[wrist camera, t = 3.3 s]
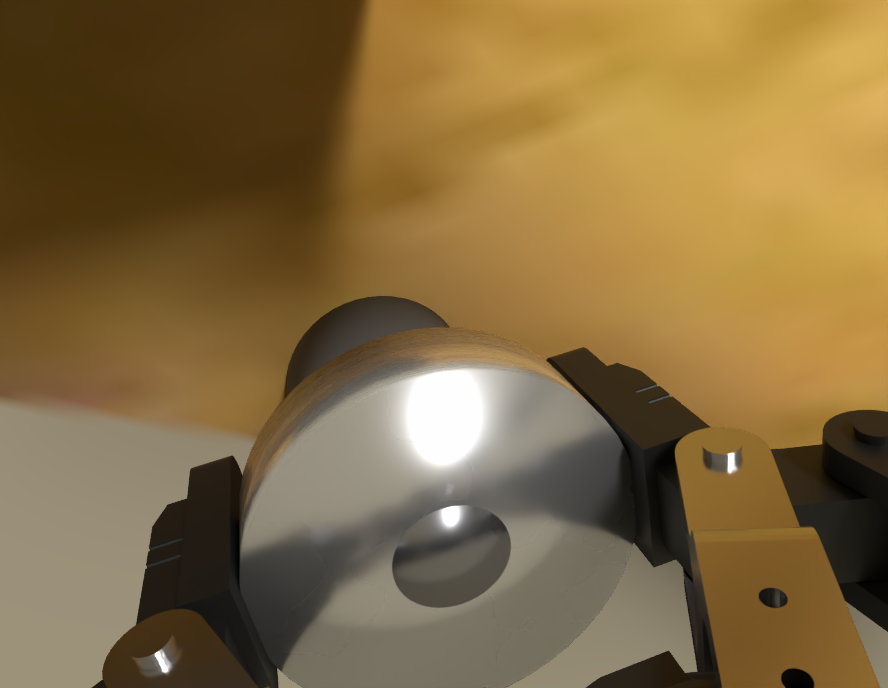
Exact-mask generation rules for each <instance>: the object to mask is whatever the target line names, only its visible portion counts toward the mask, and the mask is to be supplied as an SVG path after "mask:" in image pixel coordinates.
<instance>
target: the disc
mask: <svg viewBox="0 0 888 688" xmlns="http://www.w3.org/2000/svg"><path fill="white" fill-rule="evenodd" d="M636 528H637V525H636V515H635V505H634V495H633V485H632V476H631V466H630V459H629V456H628V454H627V452H626V450H625V448H624V446H623V444H622V443H621V441H620V439H619V437H618V435H617V434H616V433H615V431H614V430H613V429H612V428H611V426H610V425H609V424H608V423H607V421H606V420H605V419H604V418H603V417H602V416H601V415H600V414H599V413H598V412H597V411H596V410H595V409H594V408H593V407H592V406H591V405H590V403H589V402H588V401H587V400H586V399H585V398H584V397H583V396H582V395H581V394H580V393H579V392H578V391H577V390H576V389H575V388H574V387H573V386H572V385H571V384H570V383H569V382H568V381H567V380H566V379H565V378H564V377H563V376H562V375H561V374H560V373H559V372H558V371H557V370H556V369H555V368H554V367H553V366H551V365H550V364H549V363H548V362H547V361H546V360H545V359H544V358H542V357H540V356H539V355H537V354H536V353H534V352H533V351H531V350H530V349H528V348H527V347H525V346H523V345H520V344H518V343H516V342H514V341H512V340H510V339H507V338H505V337H501V336H498V335H495V334H491V333H488V332H485V331H478V330H472V329H465V328H446V327H434V328H424V329H415V330H408V331H404V332H400V333H395V334H391V335H386V336H383V337H380V338H378V339H375V340H372V341H369V342H367V343H364V344H361V345H359V346H357V347H355V348H353V349H351V350H349V351H347V352H345V353H343V354H341V355H339V356H337V357H335V358H334V359H332V360H331V361H329V362H328V363H326V364H325V365H323V366H322V367H320V368H319V369H317V370H316V371H314V372H313V373H312V374H310V375H309V376H308V377H307V378H306V379H305V380H303V381H302V382H301V383H300V384H299V385H298V386H296V387H295V388H294V389H293V390H292V391H291V392H290V393H289V395H288V396H287V397H286V398H285V399H284V400H283V401H282V402H281V403H280V404H279V405H278V407H277V408H276V409H275V411H274V412H273V413H272V415H271V416H270V418H269V419H268V421H267V422H266V423H265V425H264V426H263V428H262V429H261V431H260V433H259V435H258V437H257V439H256V441H255V443H254V445H253V447H252V449H251V452H250V454H249V457H248V460H247V463H246V466H245V469H244V472H243V477H242V483H241V488H240V494H239V569H240V591H241V595H242V597H243V599H244V602H245V604H246V606H247V609H248V611H249V613H250V616H251V618H252V620H253V623H254V625H255V627H256V630H257V632H258V634H259V637H260V639H261V641H262V644H263V646H264V648H265V651H266V653H267V655H268V658H269V659H270V660H271V662H272V663H273V664H274V665H275V666H276V667H277V668H278V669H279V670H280V671H282V672H283V673H284V674H285V675H286V676H287V677H288V678H289V679H291V680H292V681H294V682H295V683H297V684H298V685H300V686H301V687H303V688H505V687H508V686H510V685H512V684H513V683H515V682H517V681H519V680H521V679H523V678H524V677H526V676H528V675H530V674H531V673H533V672H534V671H536V670H537V669H539V668H540V667H542V666H543V665H545V664H546V663H548V662H549V661H551V660H552V659H553V658H554V657H556V656H557V655H558V654H559V653H561V652H562V651H563V650H564V649H565V648H567V647H568V646H569V645H570V644H571V643H572V642H573V641H574V640H575V639H576V638H577V637H578V636H579V635H580V634H581V633H582V632H583V631H584V630H585V629H586V628H587V626H588V625H589V624H590V623H591V622H592V621H593V620H594V618H595V617H596V616H597V615H598V614H599V613H600V611H601V610H602V608H603V607H604V605H605V604H606V602H607V601H608V599H609V598H610V596H611V595H612V593H613V592H614V590H615V588H616V586H617V584H618V582H619V580H620V578H621V577H622V575H623V572H624V570H625V567H626V565H627V562H628V559H629V557H630V554H631V551H632V546H633V543H634V539H635V535H636Z"/></svg>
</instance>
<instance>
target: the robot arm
mask: <svg viewBox="0 0 888 688" xmlns="http://www.w3.org/2000/svg"><path fill="white" fill-rule="evenodd" d="M546 361H547V362H548V363H549V364H550V365H551V366H553V367H554V368H555V369H556V370H557V371H558V372H559V373H560V374H561V375H562V376H563V377H564V378H565V379H566V380H567V381H568V382H569V383H570V384H571V385H572V386H573V387H574V388H575V389H576V390H577V391H578V392H579V393H580V394H581V395H582V396H583V397H584V398H585V399H586V400H587V401H588V402H589V403H590V405H591V406H592V407H593V408H594V409H595V410H596V411H597V412H598V413H599V414H600V415H601V416H602V417H603V418H604V419H605V420H606V421H607V423H608V424H609V425H610V426H611V428H612V429H613V430H614V431H615V433H616V434H617V435H618V437H619V439H620V441H621V443H622V444H623V446H624V448H625V450H626V452H627V454H628V456H629V459H630V466H631V476H632V485H633V495H634V505H635V515H636V525H637V528H636V535H635V539H634V543H635V544H636V546H638V548H639V549H640V551H641V552H642V553H643V554H644V556H645V557H646V558H647V559H648V561H649V562H650V563H651V564H652V565H653V567H656V566H659V565H662V564H664V563H667V562H670V561H672V560H675V559H676V560H677V561H678V562H679V563H680V564H681V566H682V567H683V576H684V588H685V595H686V602H687V607H688V614H689V620H690V626H691V633H692V640H693V646H694V653H695V659H696V665H697V672H691V673H684V671H683V670H682V668H681V667H680V666H679V664H678V663H677V661H676V660H675V659H674V657H673V656H672V655H671V653H670V652H669V651H667V652H664V653H662V654H659V655H656V656H654V657H651V658H649V659H646V660H644V661H641V662H638V663H636V664H633V665H631V666H628V667H626V668H623V669H621V670H618V671H615V672H613V673H610V674H608V675H605V676H603V677H600V678H599V679H597V680H596V681H595V682H593V683H592V684H590V685H589V686H588V687H586V688H880V686H879V683H878V681H877V678H876V676H875V674H874V671H873V668H872V666H871V664H870V661H869V659H868V656H867V654H866V651H865V649H864V646H863V644H862V641H861V639H860V637H859V634H858V632H857V629H856V627H855V624H854V622H853V619H852V617H851V614H850V612H849V609H848V607H847V604H846V602H848V603H849V604H850V605H852V606H853V607H854V608H856V609H857V610H859V611H860V612H861V613H863V614H864V615H865V616H867V617H868V618H869V619H871V620H872V621H874V622H875V623H876V624H878V625H879V626H880V627H882V628H883V629H885V630H886V631H887V632H888V412H885V411H877V410H856V411H849V412H845V413H842V414H839V415H836V416H834V417H833V418H831V419H830V420H829V421H828V422H826V424H825V425H824V428H823V439H822V444H821V445H812V446H803V447H794V448H785V449H770V448H769V446H768V444H767V443H766V442H765V441H764V440H763V439H761V438H760V437H758V436H757V435H755V434H753V433H750V432H748V431H745V430H741V429H737V428H731V427H710V426H708V425H707V424H706V423H705V422H703V421H702V420H701V419H700V418H698V417H697V416H696V415H695V414H694V413H692V412H691V411H690V410H689V409H687V408H686V407H685V406H684V405H682V404H681V403H680V402H679V401H677V400H676V399H675V398H674V397H670V395H669V393H668V392H666V391H665V390H664V389H663V388H661V387H660V386H658V387H657V384H656V383H655V382H654V381H653V380H651V379H650V378H649V377H648V376H647V375H645V374H644V373H643V372H642V371H640V370H637V369H634V368H631V367H628V366H625V365H622V364H619V363H616V364H613V365H609V366H606V365H605V364H604V363H603V362H601V361H600V360H599V359H598V358H597V357H596V356H595V355H593V354H592V353H591V352H590V351H589V350H588V349H586V348H584V347H583V348H579V349H576V350H573V351H570V352H566V353H563V354H560V355H557V356H553V357H550V358H548V359H547V360H546ZM242 477H243V476H242V473H241V471H240V468H239V466H238V464H237V461H236V460H235V458H234V457H233V456H229V457H226V458H223V459H219V460H216V461H213V462H210V463H207V464H203V465H200V466H197V467H194V468H191V470H190V477H189V486H188V496H187V499H184V500H181V501H178V502H175V503H172V504H169V505H167V506H166V508H165V509H164V511H163V512H162V514H161V515H160V517H159V518H158V519H157V521H156V522H155V524H154V525H153V527H152V533H151V539H150V545H149V549H150V551H149V552H148V556H147V563H146V565H147V569H145V574H144V580H143V586H142V592H141V598H140V604H139V610H138V616H137V623H136V625H135V626H134V627H133V628H131V629H130V630H129V631H128V632H126V633H125V634H124V635H123V636H122V637H121V638H120V639H119V640H118V641H117V642H116V644H115V645H114V646H113V647H112V649H111V650H110V652H109V654H108V655H107V657H106V660H105V662H104V665H103V671H102V675H103V680H101V681H100V682H99V683H98V684H96V685H95V686H94V687H92V688H278V675H277V667H276V666H275V665H274V664H273V663H272V662H271V660H270V659H269V658H268V655H267V653H266V651H265V648H264V646H263V644H262V641H261V639H260V637H259V634H258V632H257V630H256V627H255V625H254V623H253V620H252V618H251V616H250V613H249V611H248V609H247V606H246V604H245V602H244V599H243V597H242V595H241V591H240V569H239V494H240V488H241V483H242ZM845 601H846V602H845Z"/></svg>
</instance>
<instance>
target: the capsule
mask: <svg viewBox="0 0 888 688" xmlns="http://www.w3.org/2000/svg"><path fill="white" fill-rule="evenodd" d="M434 327H446V328H450V327H449V326H448V325H447V323H446V322H445V321H444V320H443V319H442V318H441V317H440V316H438V315H437V314H436V313H435V312H433V311H432V310H430V309H429V308H427V307H425V306H423V305H421V304H419V303H417V302H414V301H411V300H408V299H404V298H398V297H391V296H376V297H367V298H362V299H358V300H354V301H351V302H349V303H346V304H343V305H341V306H339V307H337V308H335V309H333V310H332V311H330V312H329V313H327V314H326V315H324V316H323V317H321V318H320V319H319V320H318V321H317V322H316V323H314V324H313V325H312V326H311V327H310V329H309V330H308V331H307V332H306V333H305V334H304V336H303V337H302V339H301V340H300V341H299V343H298V345H297V347H296V349H295V351H294V353H293V355H292V358H291V360H290V363H289V367H288V372H287V381H286V390H287V396H288V395H289V393H290V392H291V391H292V390H293V389H294V388H295V387H296V386H298V385H299V384H300V383H301V382H302V381H303V380H305V379H306V378H307V377H308V376H309V375H310V374H312V373H313V372H314V371H316V370H317V369H319V368H320V367H322V366H323V365H325V364H326V363H328V362H329V361H331V360H332V359H334V358H335V357H337V356H339V355H341V354H343V353H345V352H347V351H349V350H351V349H353V348H355V347H357V346H359V345H361V344H364V343H367V342H369V341H372V340H375V339H378V338H380V337H383V336H386V335H391V334H395V333H400V332H404V331H408V330H415V329H424V328H434Z"/></svg>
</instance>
